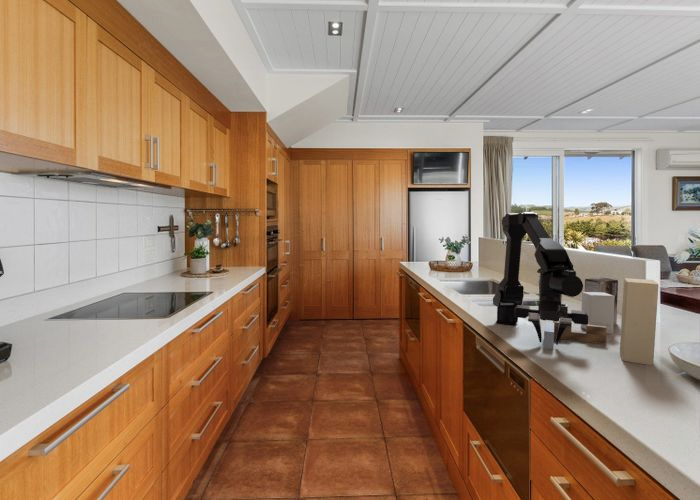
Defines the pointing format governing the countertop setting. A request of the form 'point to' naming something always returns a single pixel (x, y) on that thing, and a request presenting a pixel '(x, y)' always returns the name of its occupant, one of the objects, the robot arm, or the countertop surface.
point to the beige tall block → (638, 320)
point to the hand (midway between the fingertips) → (548, 343)
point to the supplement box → (599, 309)
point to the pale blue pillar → (549, 335)
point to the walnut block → (583, 333)
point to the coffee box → (604, 289)
